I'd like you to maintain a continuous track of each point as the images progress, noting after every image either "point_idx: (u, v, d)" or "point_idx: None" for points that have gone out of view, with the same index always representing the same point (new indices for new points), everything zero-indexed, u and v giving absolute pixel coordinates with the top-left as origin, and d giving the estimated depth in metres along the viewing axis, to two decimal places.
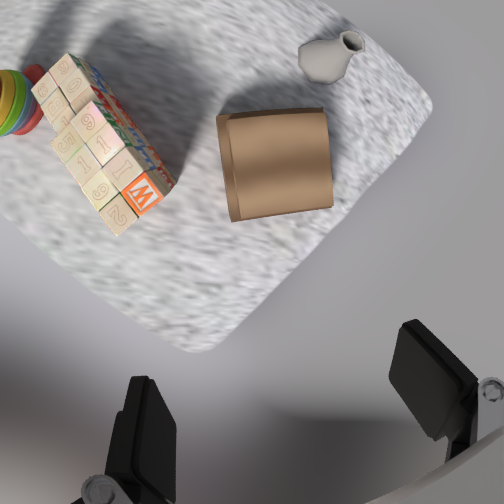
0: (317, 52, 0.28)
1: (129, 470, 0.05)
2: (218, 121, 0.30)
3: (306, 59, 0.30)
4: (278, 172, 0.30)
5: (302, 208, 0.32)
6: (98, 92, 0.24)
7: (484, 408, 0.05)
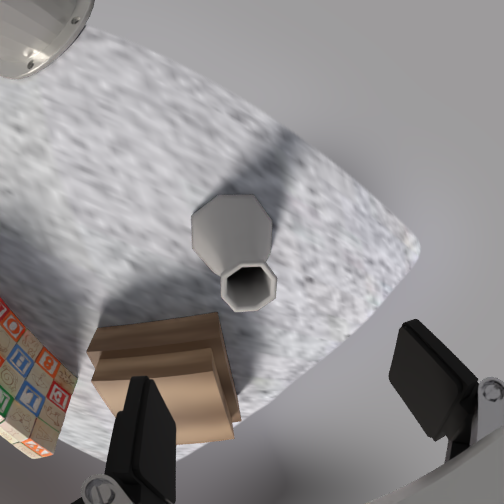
0: (207, 253, 0.20)
1: (129, 470, 0.05)
2: (90, 357, 0.22)
3: (198, 249, 0.23)
4: None
5: (197, 442, 0.25)
6: None
7: (484, 408, 0.05)
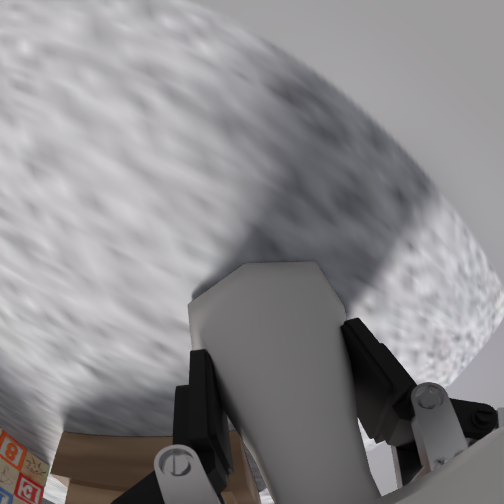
0: (228, 408, 0.08)
1: (207, 434, 0.06)
2: (57, 478, 0.10)
3: None
4: None
5: None
6: None
7: (425, 418, 0.05)
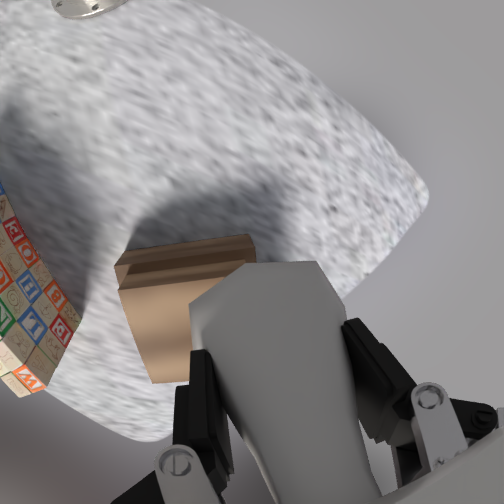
0: (229, 408, 0.08)
1: (207, 434, 0.06)
2: (116, 273, 0.24)
3: None
4: (187, 346, 0.24)
5: None
6: None
7: (425, 418, 0.05)
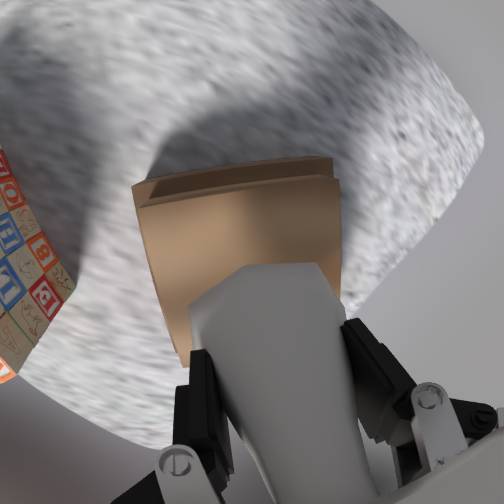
0: (229, 409, 0.08)
1: (207, 434, 0.06)
2: (135, 197, 0.17)
3: None
4: None
5: None
6: None
7: (425, 418, 0.05)
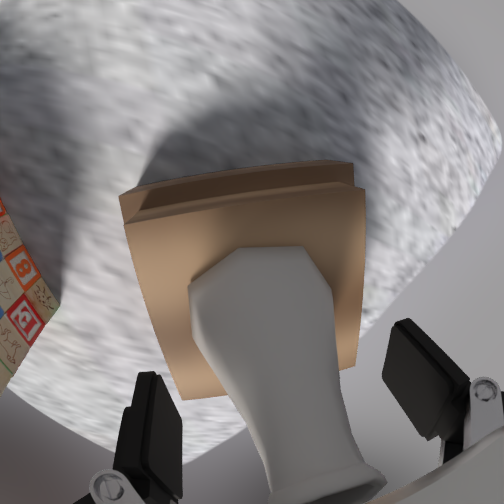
0: (222, 377, 0.10)
1: (138, 464, 0.05)
2: (123, 208, 0.14)
3: (203, 351, 0.12)
4: None
5: None
6: None
7: (477, 408, 0.05)
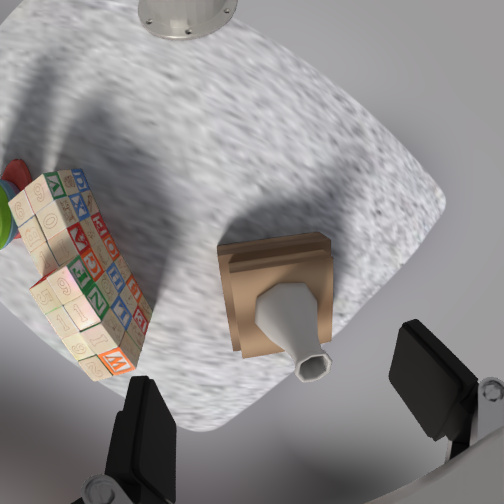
0: (274, 333, 0.27)
1: (129, 470, 0.05)
2: (219, 262, 0.31)
3: (262, 326, 0.29)
4: None
5: None
6: (76, 228, 0.25)
7: (484, 408, 0.05)
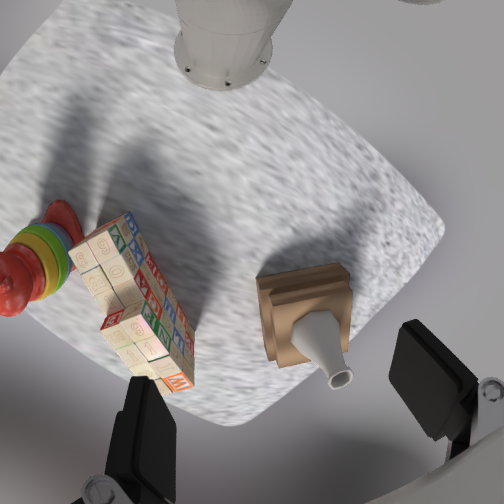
0: (309, 352, 0.34)
1: (129, 470, 0.05)
2: (261, 294, 0.38)
3: (298, 345, 0.36)
4: None
5: None
6: (139, 275, 0.32)
7: (484, 408, 0.05)
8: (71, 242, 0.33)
